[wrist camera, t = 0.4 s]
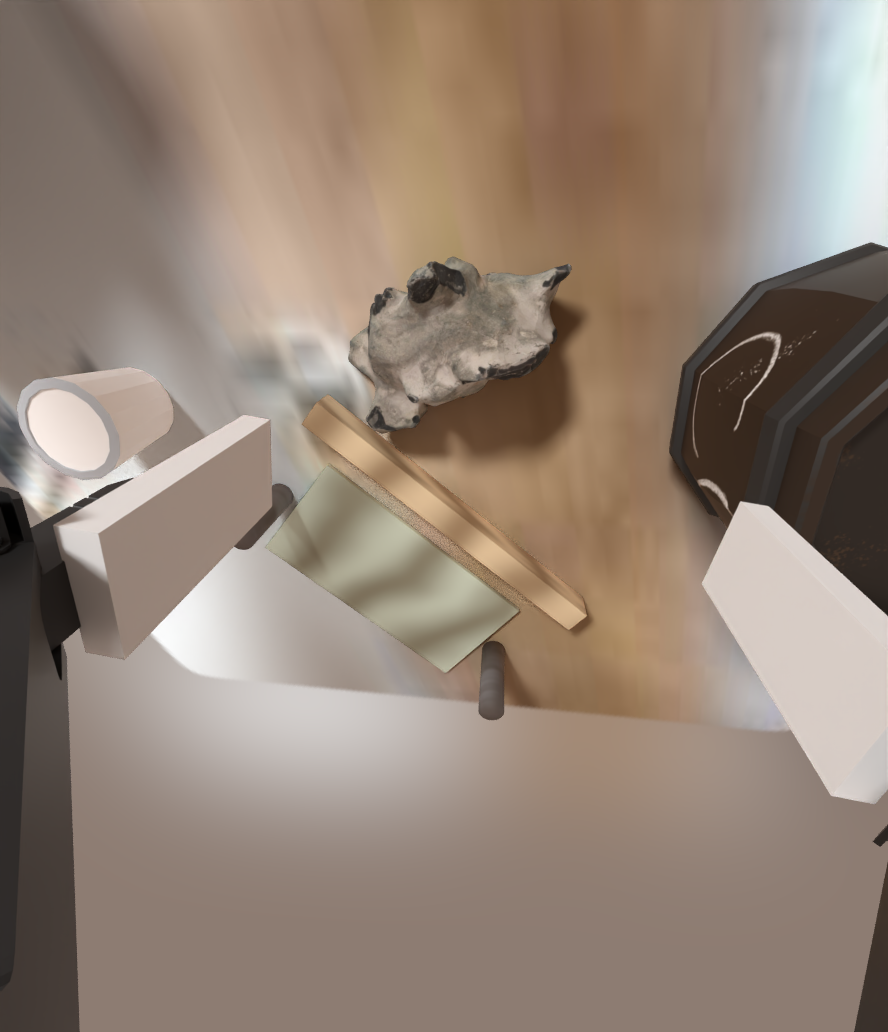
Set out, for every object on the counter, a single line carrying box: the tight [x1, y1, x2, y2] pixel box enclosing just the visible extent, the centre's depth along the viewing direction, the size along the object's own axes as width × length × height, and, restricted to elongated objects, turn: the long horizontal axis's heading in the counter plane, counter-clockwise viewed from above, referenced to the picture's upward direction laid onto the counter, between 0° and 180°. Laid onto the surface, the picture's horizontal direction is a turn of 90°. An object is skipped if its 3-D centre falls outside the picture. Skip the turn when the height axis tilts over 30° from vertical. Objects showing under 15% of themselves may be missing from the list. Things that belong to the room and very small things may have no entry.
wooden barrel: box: [669, 242, 888, 616], centre depth 26 cm, size 18×18×16 cm
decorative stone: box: [348, 257, 571, 433], centre depth 30 cm, size 16×9×10 cm, turn 128°
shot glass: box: [17, 367, 174, 480], centre depth 35 cm, size 7×7×7 cm
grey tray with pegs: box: [234, 395, 587, 720], centre depth 39 cm, size 26×14×7 cm, turn 51°
